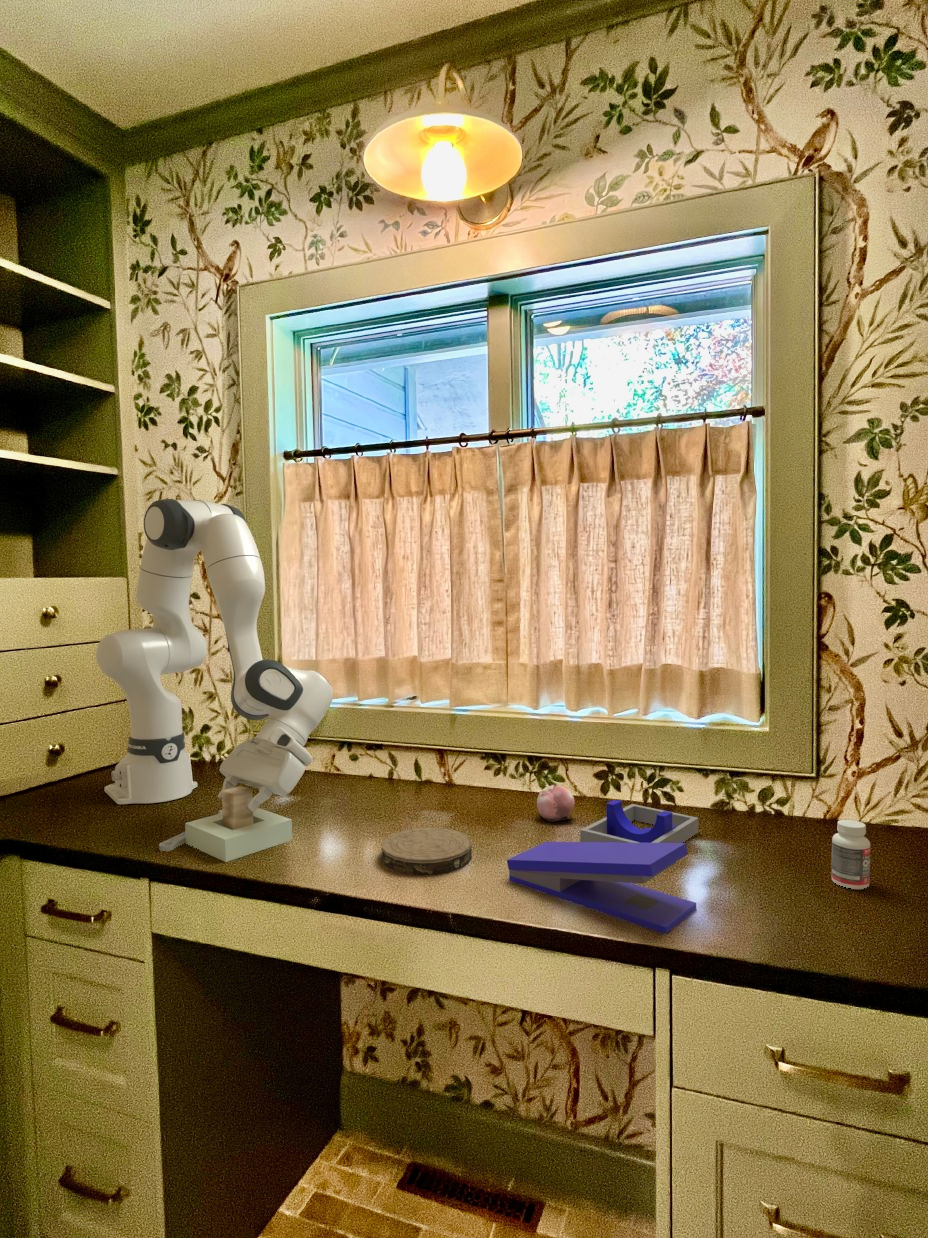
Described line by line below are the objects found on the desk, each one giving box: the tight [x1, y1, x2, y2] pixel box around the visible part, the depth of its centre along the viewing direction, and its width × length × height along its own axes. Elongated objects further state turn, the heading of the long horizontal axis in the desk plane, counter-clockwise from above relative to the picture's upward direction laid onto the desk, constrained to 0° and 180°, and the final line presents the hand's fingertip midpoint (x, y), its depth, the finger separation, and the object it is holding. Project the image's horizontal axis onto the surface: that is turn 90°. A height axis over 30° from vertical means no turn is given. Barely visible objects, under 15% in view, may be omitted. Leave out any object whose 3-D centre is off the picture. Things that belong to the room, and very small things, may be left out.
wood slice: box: [381, 827, 473, 877], centre depth 128 cm, size 16×16×3 cm
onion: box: [536, 784, 576, 823], centre depth 148 cm, size 8×8×7 cm
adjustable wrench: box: [158, 808, 223, 852], centre depth 144 cm, size 25×6×2 cm, turn 156°
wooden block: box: [221, 785, 254, 830], centre depth 136 cm, size 4×4×10 cm
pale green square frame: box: [184, 807, 293, 863], centre depth 136 cm, size 14×14×4 cm
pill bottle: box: [831, 819, 871, 890], centre depth 115 cm, size 5×5×10 cm
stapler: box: [506, 841, 697, 935], centre depth 112 cm, size 12×28×10 cm, turn 48°
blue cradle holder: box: [606, 799, 676, 843], centre depth 135 cm, size 12×4×6 cm, turn 47°
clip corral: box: [579, 803, 699, 843], centre depth 135 cm, size 14×20×3 cm
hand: (235, 804), depth 136 cm, fingers open, 8 cm apart
